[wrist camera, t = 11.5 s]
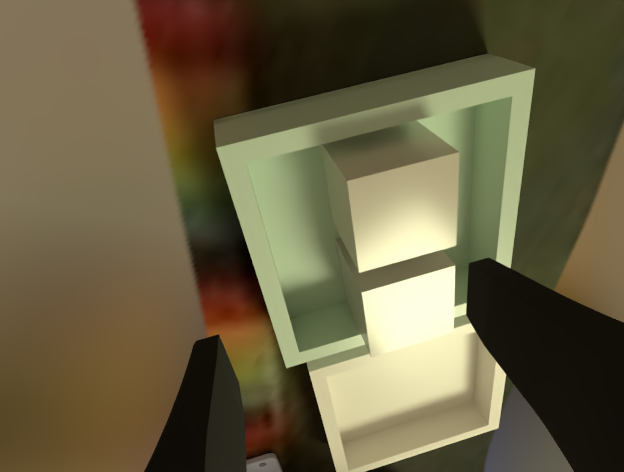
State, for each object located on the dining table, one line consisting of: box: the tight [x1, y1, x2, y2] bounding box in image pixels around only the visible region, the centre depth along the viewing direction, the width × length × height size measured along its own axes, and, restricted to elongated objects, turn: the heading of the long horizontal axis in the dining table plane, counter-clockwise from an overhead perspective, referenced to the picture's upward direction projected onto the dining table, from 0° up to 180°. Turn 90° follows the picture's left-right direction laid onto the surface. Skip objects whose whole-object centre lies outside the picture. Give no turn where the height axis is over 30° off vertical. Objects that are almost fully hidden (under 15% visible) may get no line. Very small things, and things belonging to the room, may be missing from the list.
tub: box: [213, 53, 535, 368], centre depth 19 cm, size 12×12×3 cm
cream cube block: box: [335, 237, 455, 357], centre depth 20 cm, size 4×4×4 cm
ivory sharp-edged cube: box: [320, 120, 459, 273], centre depth 17 cm, size 4×4×4 cm
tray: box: [306, 314, 506, 472], centre depth 27 cm, size 12×12×2 cm
